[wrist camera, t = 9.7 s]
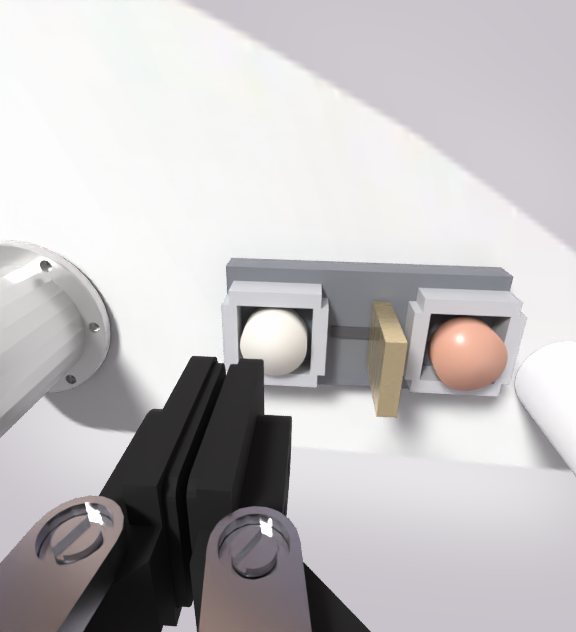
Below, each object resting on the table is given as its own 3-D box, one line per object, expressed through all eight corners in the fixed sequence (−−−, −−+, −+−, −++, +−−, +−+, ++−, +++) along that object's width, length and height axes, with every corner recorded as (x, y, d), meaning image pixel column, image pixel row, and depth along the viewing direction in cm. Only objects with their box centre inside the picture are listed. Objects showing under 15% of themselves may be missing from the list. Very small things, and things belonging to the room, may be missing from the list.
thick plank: (366, 365, 31) (376, 416, 25) (372, 301, 29) (385, 342, 23) (382, 365, 31) (396, 417, 25) (390, 302, 29) (407, 343, 23)
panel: (235, 366, 34) (225, 394, 31) (231, 258, 31) (219, 275, 27) (482, 378, 33) (502, 408, 30) (508, 267, 30) (535, 287, 26)
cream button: (245, 359, 31) (240, 374, 29) (244, 303, 29) (239, 314, 27) (306, 362, 31) (305, 377, 29) (308, 305, 29) (308, 317, 27)
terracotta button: (422, 372, 30) (429, 389, 28) (432, 314, 28) (441, 328, 26) (487, 376, 29) (499, 392, 28) (502, 317, 28) (515, 331, 26)
